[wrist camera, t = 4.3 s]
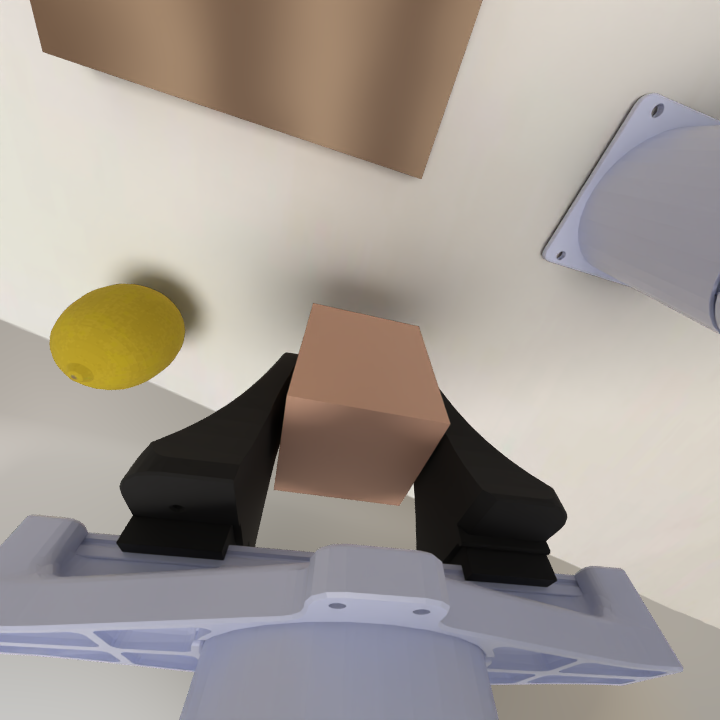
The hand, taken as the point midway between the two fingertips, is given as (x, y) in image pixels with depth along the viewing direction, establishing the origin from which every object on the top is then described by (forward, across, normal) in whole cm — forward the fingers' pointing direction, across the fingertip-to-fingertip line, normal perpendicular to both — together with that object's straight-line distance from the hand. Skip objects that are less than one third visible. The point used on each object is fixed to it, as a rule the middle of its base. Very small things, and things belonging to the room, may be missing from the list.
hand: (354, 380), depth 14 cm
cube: (+2, 0, 0) cm, 2 cm away
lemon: (+9, +13, +3) cm, 16 cm away
